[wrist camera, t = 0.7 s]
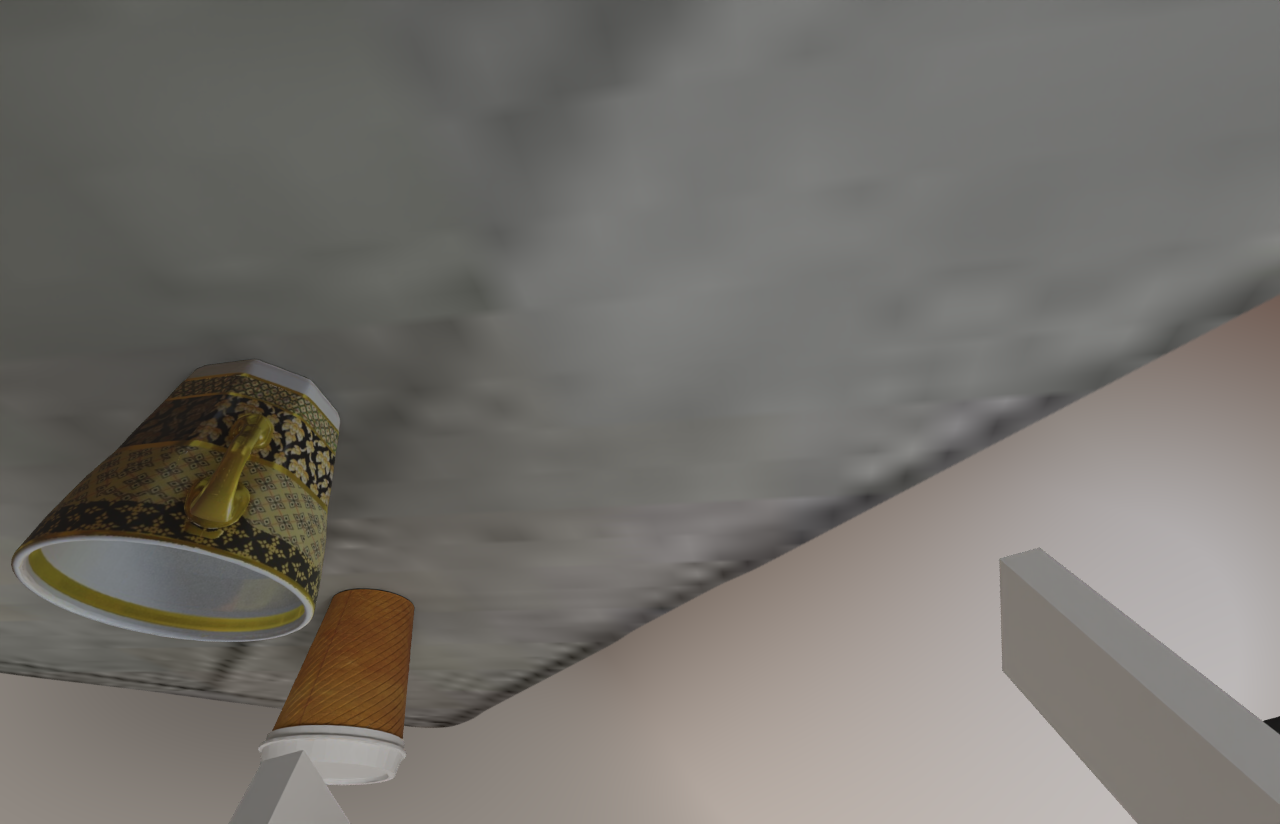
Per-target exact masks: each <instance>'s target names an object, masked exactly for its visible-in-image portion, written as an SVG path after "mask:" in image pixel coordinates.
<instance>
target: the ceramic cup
mask: <svg viewBox="0 0 1280 824" xmlns="http://www.w3.org/2000/svg"><path fill="white" fill-rule="evenodd" d="M339 427H340V417H339V414H338V412H337V411H336V410H335V408H334V407H333V406H332V405H331V404H330V402H329V401H328V400H327V399H326V397H325V396H324V395H323V394H322V393H321V391H320V390H319V389H318V388H317V386H316V385H315V384H314V383H313V382H312V381H311V380H310V379H308V378H305V377H303V376H300V375H297V374H295V373H292V372H289V371H287V370H284V369H281V368H279V367H276V366H273V365H271V364H268V363H265V362H263V361H260V360H256V359H252V360H243V361H235V362H227V363H219V364H212V365H205V366H203V367H201V368H198V369H196V370H195V371H194V372H193V373H192V374H191V375H190V376H189V377H188V378H187V379H186V380H185V381H183V382H182V383H181V384H180V385H179V386H178V387H177V389H176V390H175V391H174V392H173V393H172V394H171V395H170V396H169V397H168V398H167V399H166V400H165V401H164V402H163V403H162V404H161V405H160V406H159V407H158V408H157V409H156V410H155V411H154V412H153V413H152V414H151V415H150V416H149V417H148V418H147V419H146V420H145V421H144V422H143V423H142V424H141V425H140V426H139V427H138V428H137V429H136V430H135V431H134V432H133V433H132V434H131V435H130V436H129V437H128V438H127V439H126V441H125V442H124V443H123V444H122V445H121V446H120V447H119V448H118V449H117V450H116V451H115V452H114V453H113V454H112V455H110V456H109V457H108V458H107V459H106V460H105V461H103V462H102V463H101V464H100V465H99V466H98V467H97V468H95V469H94V470H93V471H92V472H91V473H90V474H88V475H87V476H86V477H85V478H84V479H83V480H82V481H81V482H80V483H79V484H78V485H77V486H76V487H75V488H74V489H73V490H72V491H71V492H70V493H69V494H68V495H67V496H66V497H65V498H64V499H63V500H62V501H61V502H60V503H59V504H58V505H57V506H56V507H55V508H54V509H53V510H52V511H51V512H50V513H49V514H48V515H47V516H46V517H45V519H44V520H43V521H42V522H41V523H40V524H39V525H38V527H37V528H36V529H35V530H34V531H33V532H32V533H31V535H30V536H29V537H28V538H27V539H26V540H25V541H24V542H23V544H22V545H21V546H20V547H19V548H18V549H17V550H16V552H15V553H14V555H13V557H12V562H11V566H12V569H13V572H14V574H15V575H16V577H17V578H18V579H19V580H20V581H21V582H22V583H23V584H24V585H25V586H26V587H27V588H28V589H29V590H31V591H32V592H34V593H35V594H37V595H38V596H40V597H42V598H44V599H45V600H47V601H49V602H51V603H53V604H55V605H57V606H59V607H61V608H63V609H65V610H68V611H70V612H73V613H76V614H78V615H81V616H84V617H87V618H89V619H92V620H95V621H99V622H102V623H106V624H109V625H112V626H116V627H120V628H124V629H128V630H133V631H138V632H143V633H148V634H154V635H159V636H165V637H172V638H180V639H188V640H200V641H218V642H239V641H256V640H265V639H271V638H276V637H280V636H284V635H288V634H290V633H293V632H295V631H297V630H299V629H301V628H303V627H304V626H305V625H307V624H308V623H309V622H310V620H311V619H312V617H313V614H314V610H315V605H316V601H317V596H318V591H319V585H320V580H321V573H322V566H323V559H324V551H325V543H326V528H327V509H328V504H329V498H330V492H331V485H332V477H333V470H334V463H335V454H336V449H337V443H338V437H339Z"/></svg>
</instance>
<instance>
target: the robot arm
mask: <svg viewBox="0 0 1280 824" xmlns="http://www.w3.org/2000/svg"><path fill="white" fill-rule="evenodd" d="M1000 597H1001V634H1002V635H1001V636H1002V669H1003V671H1004V673H1005V674H1006V675H1007V676H1008V677H1009V678H1010V680H1011V681H1012V682H1013V683H1014V684H1015V685H1016V686H1017V688H1018V689H1019V690H1020V691H1021V692H1022V693H1023V694H1024V695H1025V697H1026V698H1027V699H1028V700H1029V701H1030V702H1031V703H1032V704H1033V706H1034V707H1035V708H1036V709H1037V710H1038V711H1039V712H1040V714H1041V715H1042V716H1043V717H1044V718H1045V719H1046V720H1047V722H1048V723H1049V724H1050V725H1051V726H1052V727H1053V728H1054V729H1055V730H1056V732H1057V733H1058V734H1059V735H1060V736H1061V737H1062V738H1063V740H1064V741H1065V742H1066V743H1067V744H1068V745H1069V746H1070V748H1071V749H1072V750H1073V751H1074V752H1075V753H1076V754H1077V755H1078V757H1079V758H1080V759H1081V760H1082V761H1083V762H1084V763H1085V765H1086V766H1087V767H1088V768H1089V769H1090V770H1091V771H1092V772H1093V774H1094V775H1095V776H1096V777H1097V778H1098V779H1099V780H1100V781H1101V783H1102V784H1103V785H1104V786H1105V787H1106V788H1107V789H1108V791H1109V792H1110V793H1111V794H1112V795H1113V796H1114V797H1115V798H1116V800H1117V801H1118V802H1119V803H1120V804H1121V805H1122V806H1123V808H1124V809H1125V810H1126V811H1127V812H1128V813H1129V814H1130V815H1131V817H1132V818H1133V819H1134V820H1135V821H1136V822H1137V823H1138V824H1280V716H1279V717H1276V718H1272V719H1269V720H1265V721H1262V720H1260V719H1259V718H1258V717H1256V716H1255V715H1254V714H1253V713H1251V712H1250V711H1249V710H1247V709H1246V708H1245V707H1244V706H1242V705H1241V704H1240V703H1239V702H1237V701H1236V700H1235V699H1233V698H1232V697H1231V696H1230V695H1228V694H1227V693H1226V692H1224V691H1223V690H1222V689H1220V688H1219V687H1218V686H1217V685H1215V684H1214V683H1213V682H1212V681H1210V680H1209V679H1208V678H1206V677H1205V676H1204V675H1203V674H1201V673H1200V672H1199V671H1197V670H1196V669H1195V668H1194V667H1192V666H1191V665H1190V664H1188V663H1187V662H1186V661H1184V660H1183V659H1182V658H1181V657H1179V656H1178V655H1177V654H1176V653H1174V652H1173V651H1172V650H1170V649H1169V648H1168V647H1167V646H1165V645H1164V644H1163V643H1161V642H1160V641H1159V640H1157V639H1156V638H1155V637H1154V636H1152V635H1151V634H1150V633H1149V632H1147V631H1146V630H1145V629H1143V628H1142V627H1141V626H1139V625H1138V624H1137V623H1136V622H1134V621H1133V620H1132V619H1131V618H1129V617H1128V616H1127V615H1125V614H1124V613H1123V612H1122V611H1120V610H1119V609H1118V608H1116V607H1115V606H1114V605H1113V604H1111V603H1110V602H1109V601H1107V600H1106V599H1105V598H1103V597H1102V596H1101V595H1100V594H1098V593H1097V592H1096V591H1095V590H1093V589H1092V588H1091V587H1090V586H1088V585H1087V584H1086V583H1084V582H1083V581H1082V580H1080V579H1079V578H1078V577H1077V576H1075V575H1074V574H1073V573H1071V572H1070V571H1069V570H1068V569H1066V568H1065V567H1064V566H1063V565H1061V564H1060V563H1059V562H1057V561H1056V560H1055V559H1054V558H1052V557H1051V556H1050V555H1048V554H1047V553H1046V552H1045V551H1043V550H1042V549H1041V548H1037V549H1033V550H1029V551H1026V552H1022V553H1018V554H1015V555H1011V556H1007V557H1004V558H1000ZM229 824H351V823H350V822H349V820H348V818H347V817H346V815H345V814H344V812H343V811H342V809H341V807H340V806H339V804H338V803H337V801H336V800H335V798H334V797H333V795H332V793H331V792H330V790H329V789H328V787H327V786H326V784H325V782H324V781H323V779H322V778H321V776H320V775H319V773H318V772H317V770H316V768H315V767H314V765H313V764H312V762H311V761H310V759H309V758H308V756H307V754H306V753H305V751H304V750H300V751H297V752H293V753H289V754H286V755H282V756H279V757H275V758H271V759H268V760H264V761H262V763H261V764H260V766H259V768H258V770H257V772H256V774H255V776H254V777H253V779H252V781H251V783H250V785H249V787H248V789H247V791H246V792H245V794H244V796H243V798H242V800H241V802H240V804H239V805H238V807H237V809H236V811H235V813H234V815H233V817H232V818H231V820H230V822H229Z"/></svg>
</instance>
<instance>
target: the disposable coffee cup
mask: <svg viewBox="0 0 1280 824" xmlns="http://www.w3.org/2000/svg"><path fill="white" fill-rule="evenodd" d="M413 616H414V605H413V604H412V603H411V602H410V601H409V600H407V599H405V598H403V597H401V596H399V595H396V594H393V593H390V592H385V591H379V590H371V589H357V590H349V591H344V592H341V593H338V594H336V595H335V596H334V597H333V599H332V601H331V604H330V606H329V608H328V610H327V613H326V615H325V617H324V619H323V621H322V624H321V626H320V628H319V630H318V632H317V634H316V637H315V639H314V641H313V643H312V645H311V647H310V650H309V652H308V654H307V656H306V659H305V661H304V663H303V665H302V667H301V670H300V672H299V674H298V676H297V678H296V680H295V682H294V684H293V687H292V689H291V691H290V693H289V696H288V698H287V700H286V702H285V704H284V707H283V709H282V711H281V713H280V715H279V717H278V720H277V722H276V724H275V726H274V728H273V730H272V732H270V733H269V734H268V735H267V738H266V740H265V741H264V742H262V743H261V745H260V746H259V748H258V750H259V752H260V753H261V761H260V764H261V763H262V761H264V760H268V759H271V758H275V757H279V756H282V755H286V754H289V753H293V752H297V751H300V750H304V751H305V753H306V754H307V756H308V758H309V759H310V761H311V762H312V764H313V765H314V767H315V768H316V770H317V772H318V773H319V775H320V776H321V778H322V779H323V781H324V782H325V784H326V785H360V784H372V783H380V782H384V781H388V780H391V779H392V778H394V777H395V774H396V772H397V769H398V767H399V764H400V762H401V761H402V760H403V759H404V758H406V750H405V749H404V743H405V742H404V741H403V729H404V718H405V706H406V694H407V683H408V672H409V662H410V649H411V639H412V629H413Z"/></svg>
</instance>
